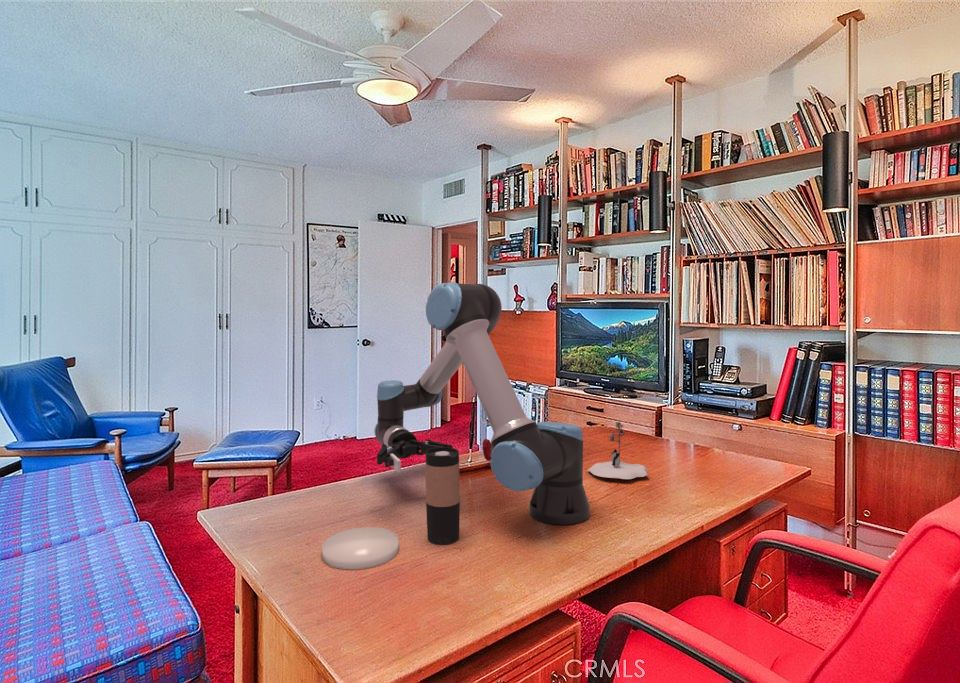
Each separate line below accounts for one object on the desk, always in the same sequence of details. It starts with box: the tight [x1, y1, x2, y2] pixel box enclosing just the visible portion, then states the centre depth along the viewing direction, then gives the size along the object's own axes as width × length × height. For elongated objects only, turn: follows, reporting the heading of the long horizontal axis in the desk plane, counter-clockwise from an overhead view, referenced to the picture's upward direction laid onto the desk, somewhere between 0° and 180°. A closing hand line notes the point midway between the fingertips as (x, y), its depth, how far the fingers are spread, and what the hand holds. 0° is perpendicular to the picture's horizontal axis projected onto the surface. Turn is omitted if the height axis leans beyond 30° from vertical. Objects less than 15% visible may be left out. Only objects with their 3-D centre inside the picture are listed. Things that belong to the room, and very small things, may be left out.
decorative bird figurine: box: [482, 438, 494, 467], centre depth 177 cm, size 3×18×10 cm, turn 158°
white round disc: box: [321, 526, 400, 571], centre depth 114 cm, size 16×16×2 cm
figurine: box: [587, 421, 649, 480], centre depth 166 cm, size 20×18×16 cm
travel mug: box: [425, 447, 461, 546], centre depth 120 cm, size 8×8×20 cm
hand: (426, 462), depth 128 cm, fingers open, 13 cm apart
